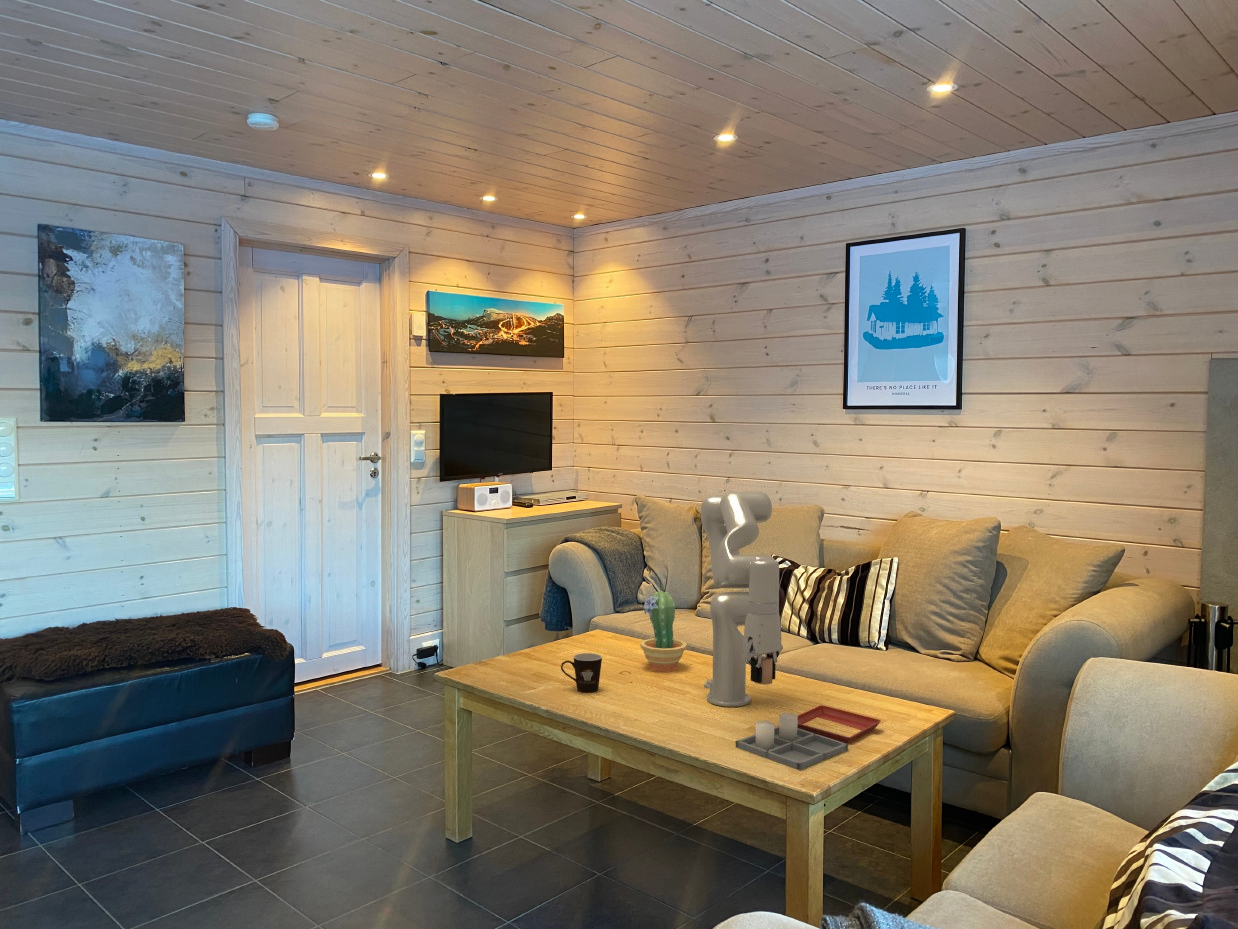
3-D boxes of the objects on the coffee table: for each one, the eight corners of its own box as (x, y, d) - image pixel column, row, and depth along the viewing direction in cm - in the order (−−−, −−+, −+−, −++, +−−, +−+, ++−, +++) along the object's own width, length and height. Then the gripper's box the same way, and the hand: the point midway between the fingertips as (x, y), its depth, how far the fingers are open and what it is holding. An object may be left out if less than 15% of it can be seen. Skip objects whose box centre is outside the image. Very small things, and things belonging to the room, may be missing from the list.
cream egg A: (751, 747, 226) (751, 723, 225) (763, 743, 229) (763, 719, 228) (766, 752, 222) (766, 728, 222) (777, 748, 225) (778, 724, 225)
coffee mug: (606, 687, 277) (606, 655, 276) (594, 695, 269) (594, 662, 268) (572, 682, 282) (572, 650, 281) (559, 690, 274) (559, 657, 273)
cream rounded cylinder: (775, 738, 232) (775, 715, 231) (786, 734, 235) (786, 711, 235) (789, 743, 228) (790, 720, 228) (800, 739, 231) (801, 716, 231)
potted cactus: (640, 661, 307) (640, 587, 306) (686, 661, 307) (687, 588, 305) (639, 673, 292) (640, 596, 291) (687, 674, 291) (688, 597, 290)
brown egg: (750, 681, 231) (750, 658, 231) (761, 678, 234) (762, 655, 234) (764, 685, 228) (764, 661, 227) (776, 682, 231) (776, 658, 231)
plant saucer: (882, 731, 241) (882, 719, 241) (849, 750, 228) (849, 736, 228) (820, 716, 253) (821, 704, 253) (786, 732, 240) (786, 720, 240)
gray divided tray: (735, 750, 226) (735, 741, 226) (784, 732, 239) (784, 723, 239) (799, 773, 211) (799, 763, 211) (847, 753, 224) (847, 744, 224)
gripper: (773, 602, 239) (772, 671, 239) (730, 610, 228) (729, 683, 228) (796, 606, 233) (795, 677, 234) (753, 614, 222) (752, 689, 222)
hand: (763, 679), depth 231 cm, fingers closed on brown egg, 4 cm apart
